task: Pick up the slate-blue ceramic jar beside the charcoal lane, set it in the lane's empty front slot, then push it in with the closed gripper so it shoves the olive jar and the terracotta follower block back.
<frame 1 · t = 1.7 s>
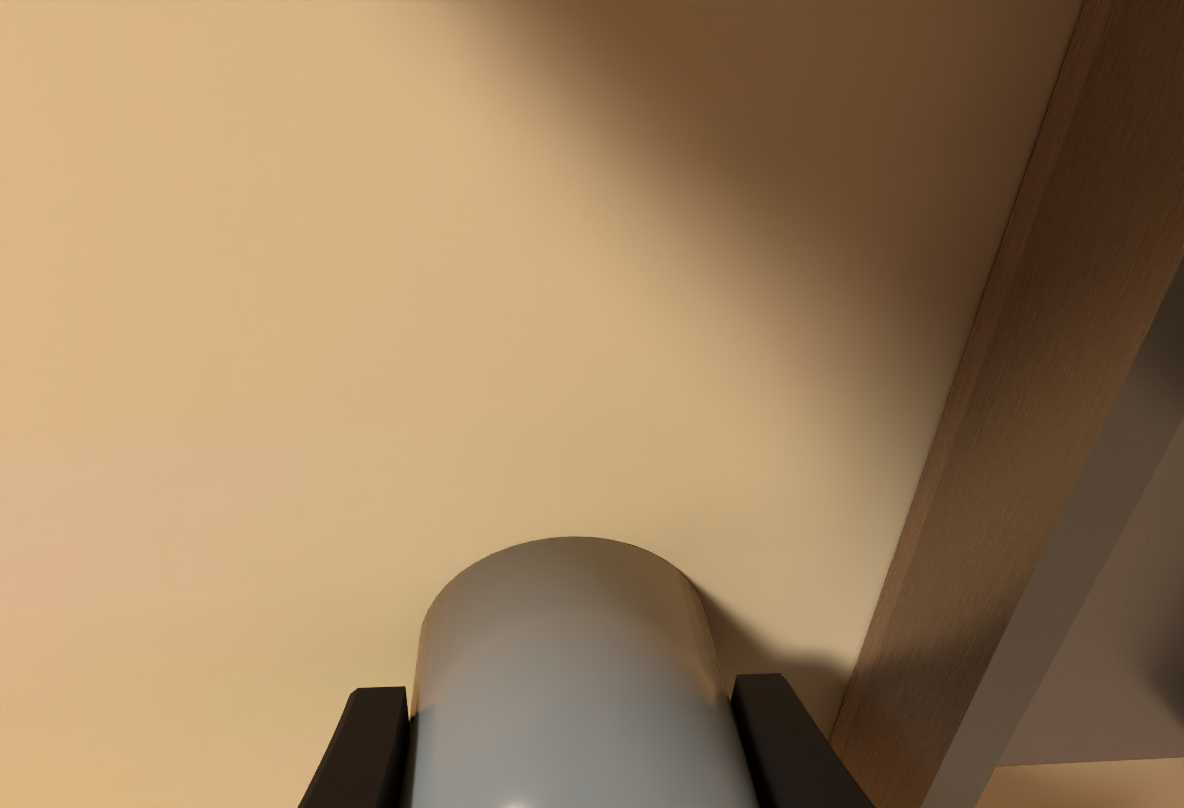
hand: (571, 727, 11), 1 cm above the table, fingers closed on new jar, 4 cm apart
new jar: (565, 645, 12), on the table, touching gripper
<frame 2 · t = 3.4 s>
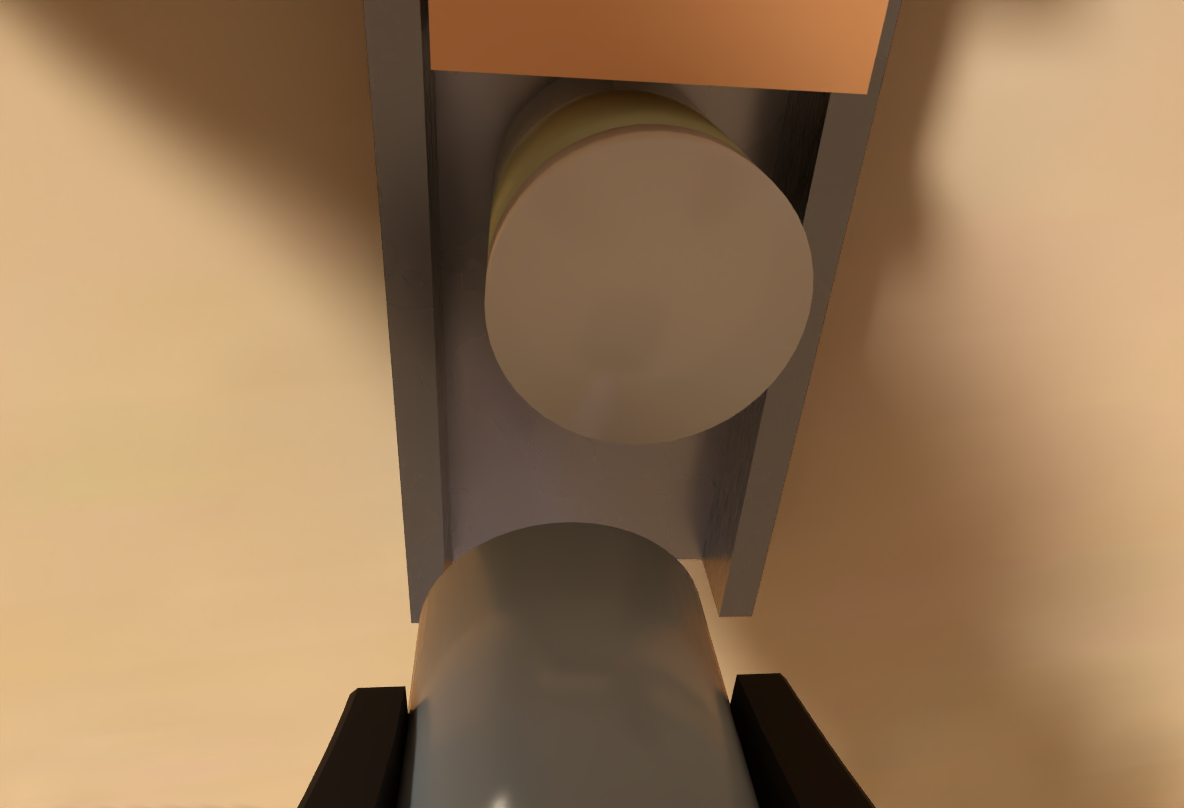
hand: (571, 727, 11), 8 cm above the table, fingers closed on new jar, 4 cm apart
follower: (639, 16, 11), point 2 cm above the table, slide at 0.0 cm
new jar: (562, 631, 12), point 7 cm above the table, touching gripper
lane: (603, 214, 16), on the table
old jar: (608, 190, 15), resting on lane
when the fingers open (3 cm above the table, at t = 4.9 s): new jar drops 1 cm, resting on lane.
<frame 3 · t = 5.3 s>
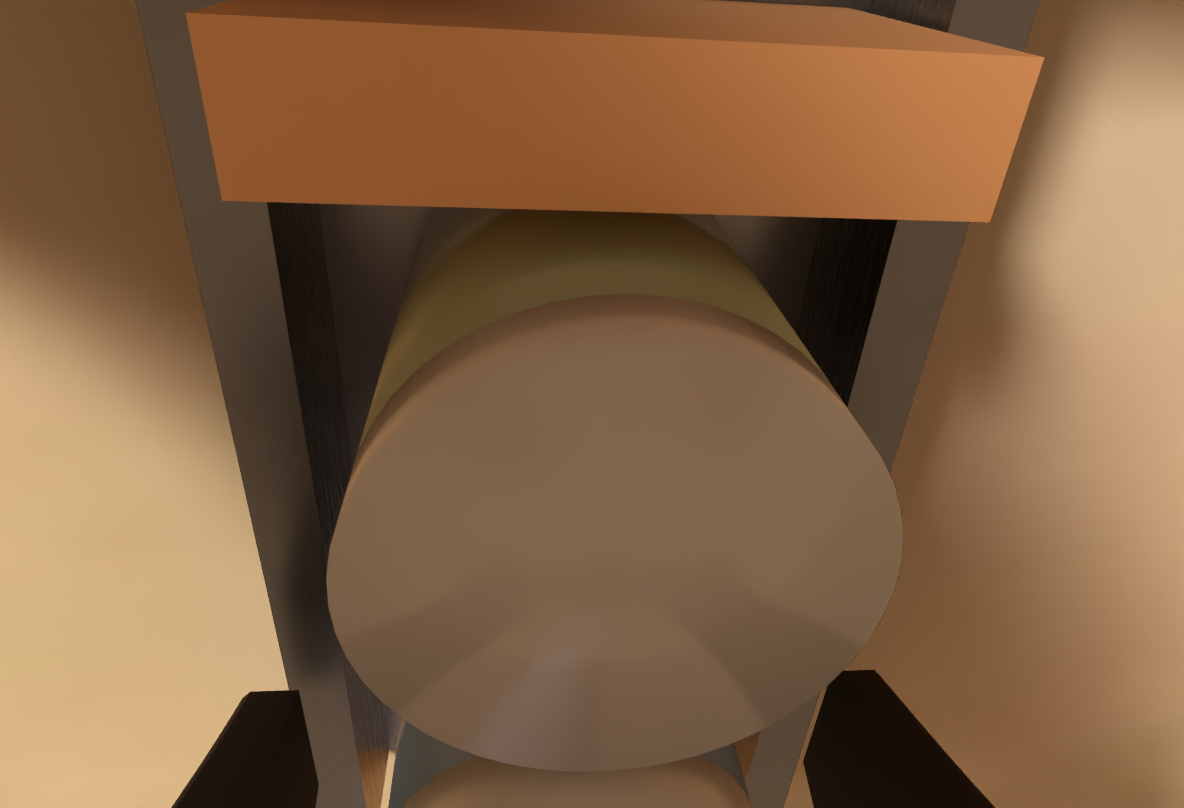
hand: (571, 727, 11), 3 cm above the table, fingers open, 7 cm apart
follower: (605, 82, 7), point 2 cm above the table, slide at 0.0 cm
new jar: (554, 576, 13), resting on lane
lane: (569, 333, 11), on the table
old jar: (573, 306, 11), resting on lane
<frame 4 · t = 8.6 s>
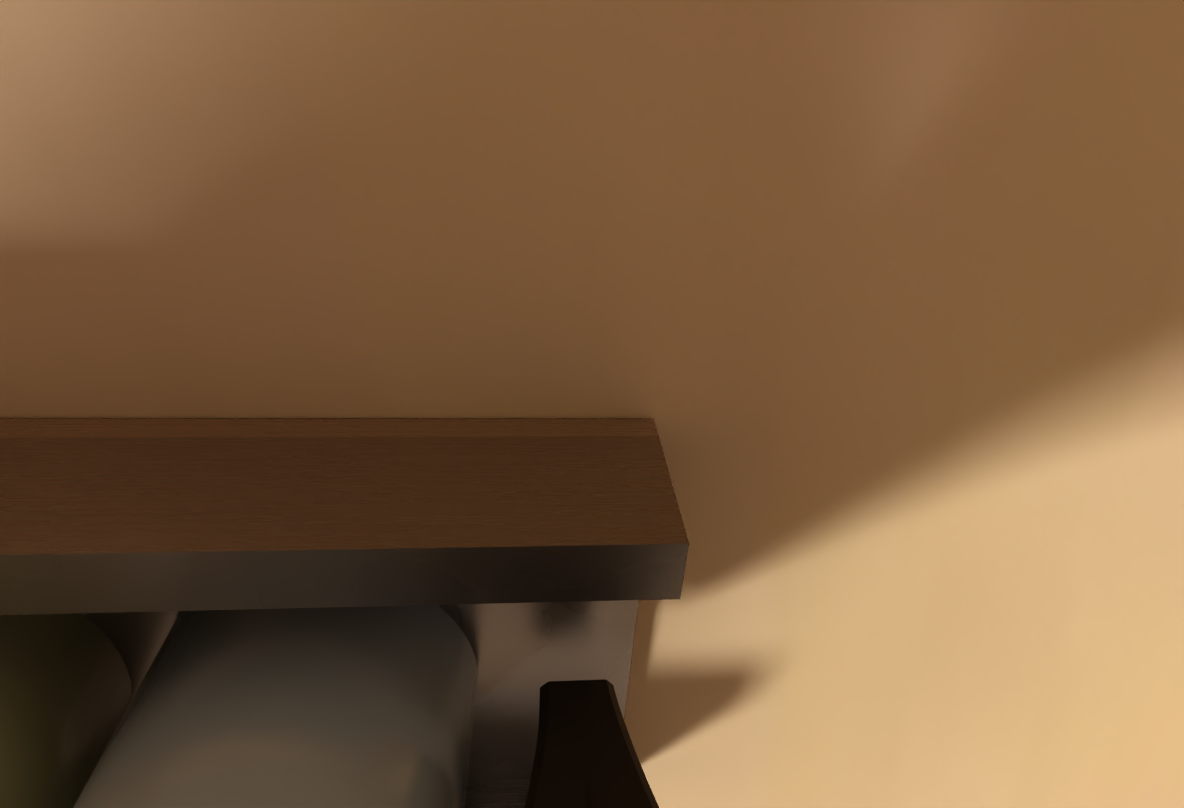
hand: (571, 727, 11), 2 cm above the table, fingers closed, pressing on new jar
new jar: (326, 673, 11), resting on lane, touching gripper
lane: (23, 650, 11), on the table
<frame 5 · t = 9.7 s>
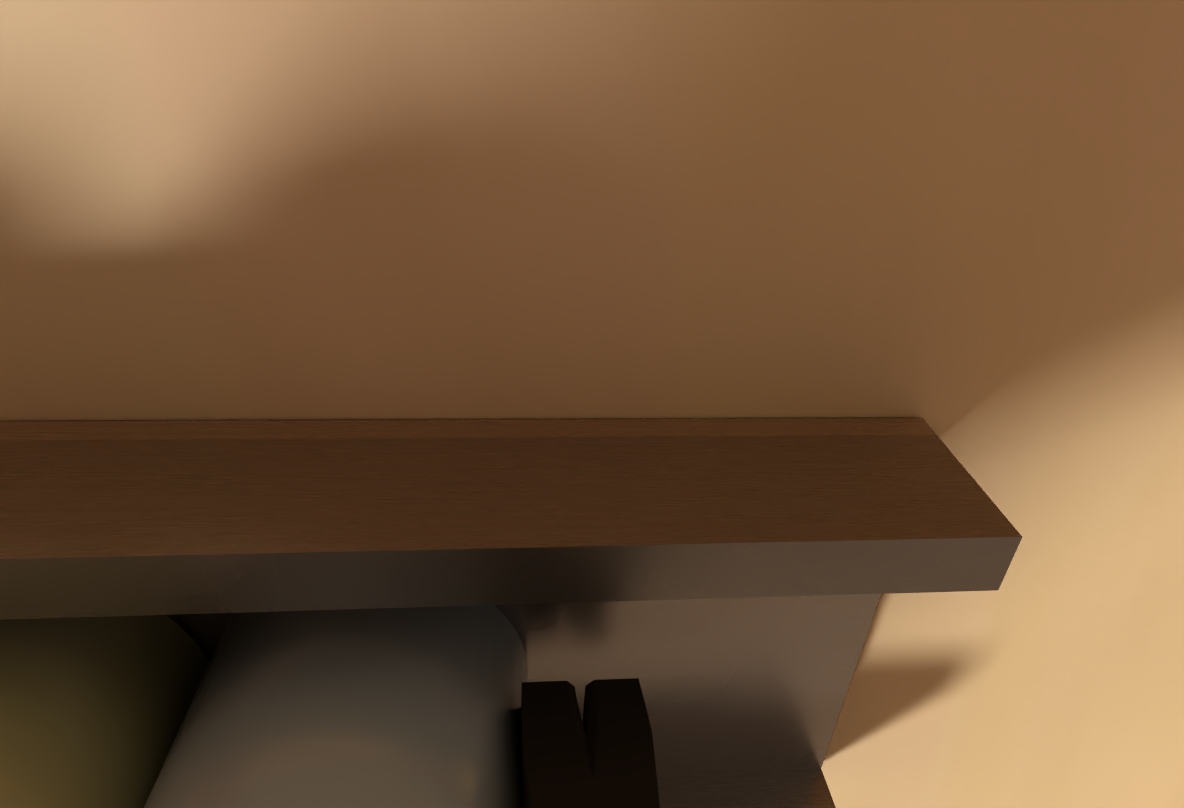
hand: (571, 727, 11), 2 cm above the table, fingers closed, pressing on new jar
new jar: (377, 671, 11), resting on lane, touching gripper, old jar
lane: (284, 645, 12), on the table
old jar: (53, 678, 11), resting on lane, touching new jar
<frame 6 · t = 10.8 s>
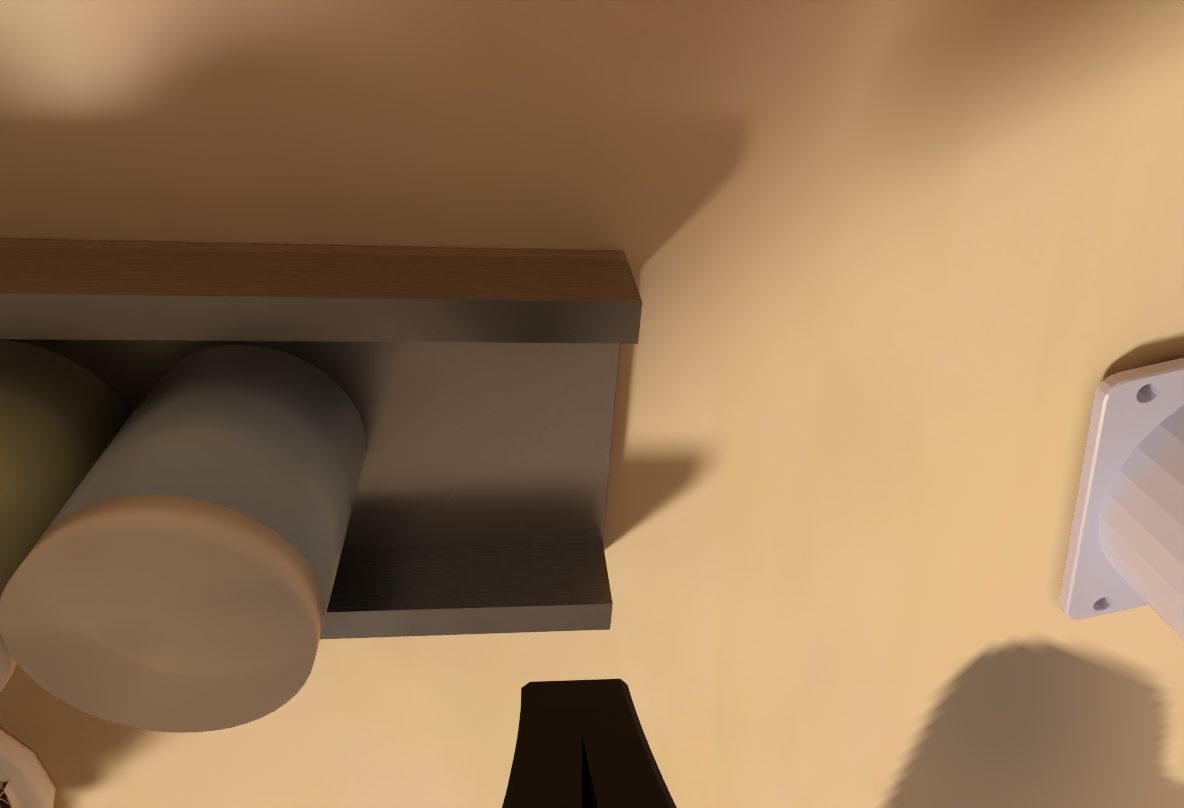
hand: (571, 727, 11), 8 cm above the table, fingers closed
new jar: (258, 437, 16), resting on lane
lane: (192, 423, 16), on the table
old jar: (27, 436, 16), resting on lane
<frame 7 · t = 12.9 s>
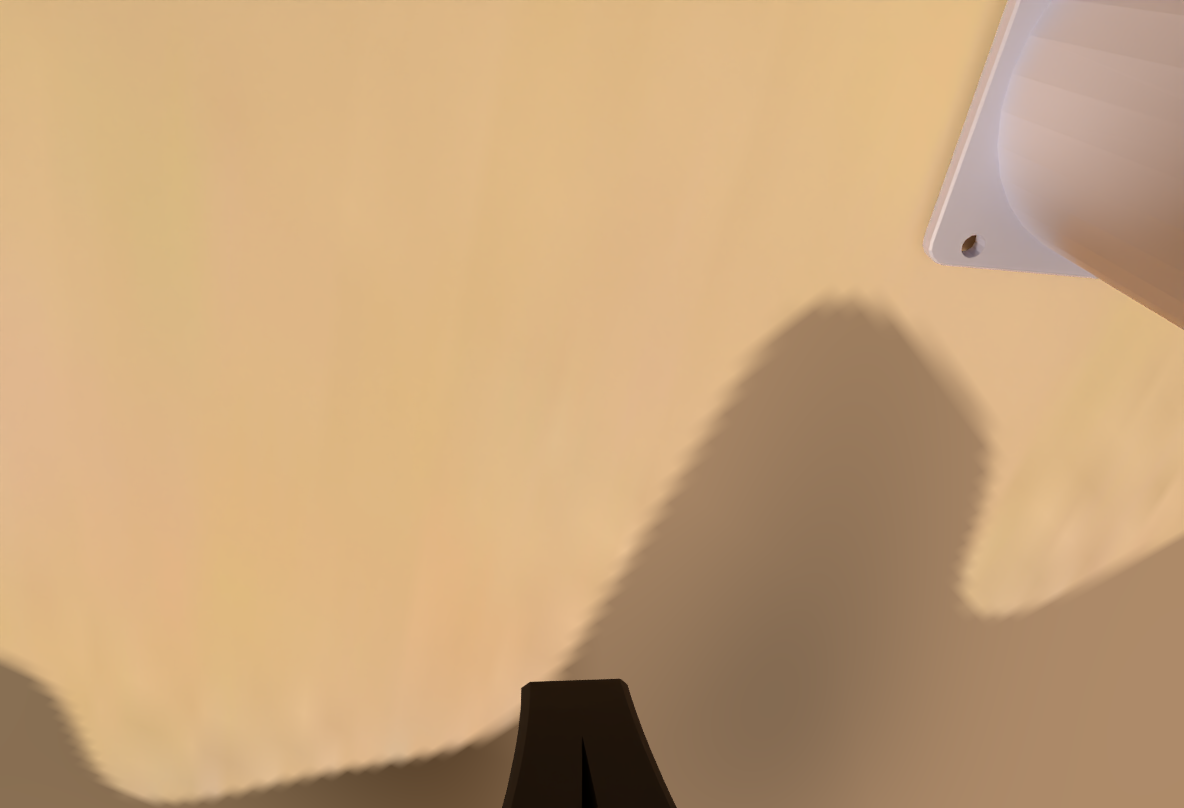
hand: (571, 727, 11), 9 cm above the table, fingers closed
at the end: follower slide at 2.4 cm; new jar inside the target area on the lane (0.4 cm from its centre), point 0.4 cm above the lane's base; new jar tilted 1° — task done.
